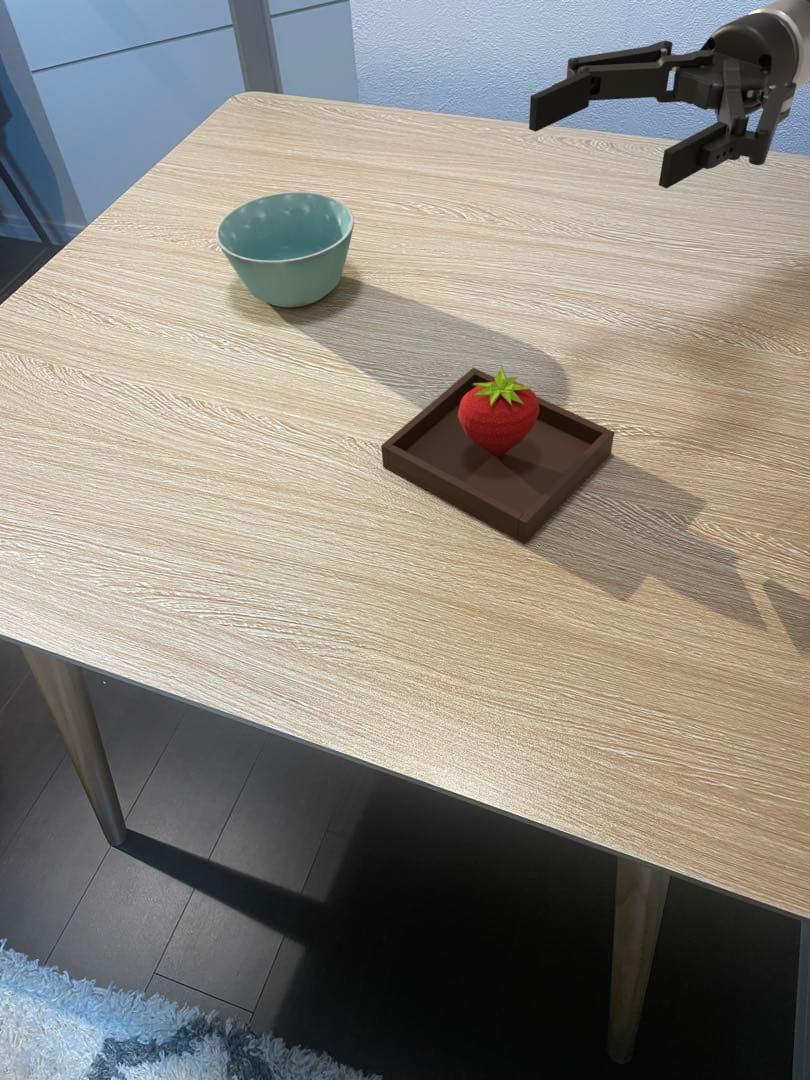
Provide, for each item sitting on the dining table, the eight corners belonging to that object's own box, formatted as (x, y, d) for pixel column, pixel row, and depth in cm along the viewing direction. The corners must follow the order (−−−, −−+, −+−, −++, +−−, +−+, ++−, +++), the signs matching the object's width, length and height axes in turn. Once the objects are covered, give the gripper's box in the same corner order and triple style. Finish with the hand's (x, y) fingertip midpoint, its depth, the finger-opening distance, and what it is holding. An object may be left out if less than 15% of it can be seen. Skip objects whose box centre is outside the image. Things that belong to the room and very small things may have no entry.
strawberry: (452, 439, 90) (451, 356, 82) (527, 427, 90) (533, 344, 83) (464, 480, 86) (464, 397, 78) (543, 468, 86) (550, 385, 79)
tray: (611, 453, 88) (614, 431, 86) (524, 544, 81) (526, 523, 79) (473, 388, 96) (473, 367, 94) (382, 466, 89) (380, 445, 86)
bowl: (204, 287, 111) (189, 224, 105) (307, 237, 117) (299, 176, 111) (279, 343, 103) (267, 278, 96) (386, 286, 109) (381, 223, 103)
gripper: (876, 147, 76) (718, 244, 68) (641, 64, 89) (484, 137, 81) (909, 51, 70) (741, 144, 62) (653, -22, 84) (485, 47, 75)
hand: (595, 140), depth 71 cm, fingers open, 13 cm apart
